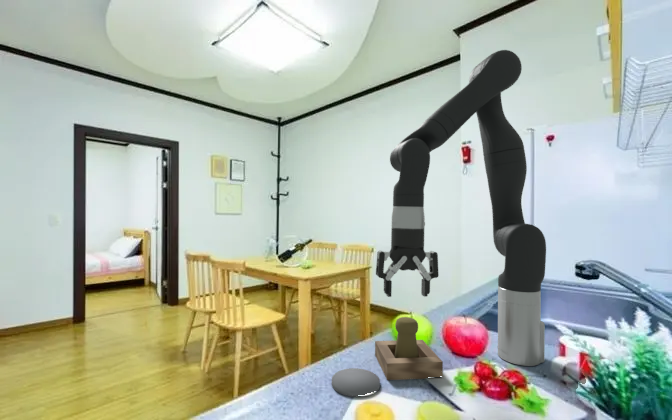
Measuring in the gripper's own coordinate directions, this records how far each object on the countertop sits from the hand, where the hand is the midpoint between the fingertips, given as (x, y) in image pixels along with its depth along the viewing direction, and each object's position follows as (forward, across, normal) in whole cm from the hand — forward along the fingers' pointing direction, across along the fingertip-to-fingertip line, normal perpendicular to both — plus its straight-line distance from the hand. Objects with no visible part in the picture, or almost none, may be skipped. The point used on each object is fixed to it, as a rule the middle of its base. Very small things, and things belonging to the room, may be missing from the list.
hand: (406, 295), depth 77 cm
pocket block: (+16, 0, 0) cm, 16 cm away
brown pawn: (+16, 0, 0) cm, 16 cm away
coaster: (+16, +13, +7) cm, 22 cm away
